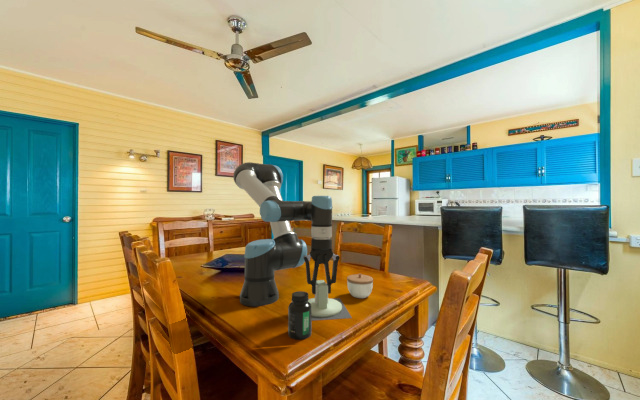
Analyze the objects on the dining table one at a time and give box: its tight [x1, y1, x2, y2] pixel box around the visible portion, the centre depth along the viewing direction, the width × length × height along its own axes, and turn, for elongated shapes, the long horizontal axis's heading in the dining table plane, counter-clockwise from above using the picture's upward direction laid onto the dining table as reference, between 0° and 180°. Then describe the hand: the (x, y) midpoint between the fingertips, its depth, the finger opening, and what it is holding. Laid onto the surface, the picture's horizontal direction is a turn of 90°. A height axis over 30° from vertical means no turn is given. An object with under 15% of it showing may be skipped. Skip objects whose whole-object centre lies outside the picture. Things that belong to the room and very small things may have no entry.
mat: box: [312, 297, 353, 321], centre depth 94 cm, size 18×18×1 cm
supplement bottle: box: [287, 290, 313, 341], centre depth 76 cm, size 7×7×12 cm
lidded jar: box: [346, 273, 374, 299], centre depth 107 cm, size 11×11×9 cm
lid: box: [308, 279, 342, 318], centre depth 94 cm, size 15×15×9 cm
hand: (321, 302), depth 94 cm, fingers closed on lid, 3 cm apart
